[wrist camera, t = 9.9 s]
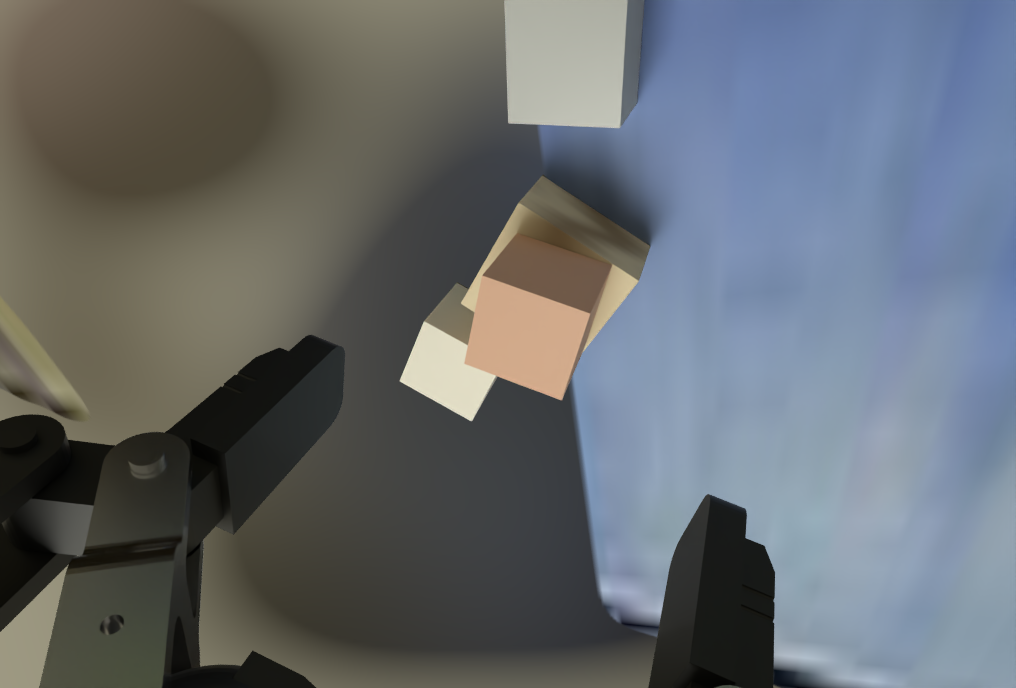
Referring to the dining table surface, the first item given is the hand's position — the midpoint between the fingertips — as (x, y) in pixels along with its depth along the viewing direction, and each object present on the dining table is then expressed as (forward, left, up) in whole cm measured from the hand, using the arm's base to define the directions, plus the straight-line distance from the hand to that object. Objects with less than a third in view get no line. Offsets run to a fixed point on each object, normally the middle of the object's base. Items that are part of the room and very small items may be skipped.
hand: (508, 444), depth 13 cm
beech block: (+2, +8, -24) cm, 25 cm away
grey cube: (+4, -3, -24) cm, 24 cm away
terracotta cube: (+2, +7, -19) cm, 21 cm away
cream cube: (+6, +15, -24) cm, 28 cm away
